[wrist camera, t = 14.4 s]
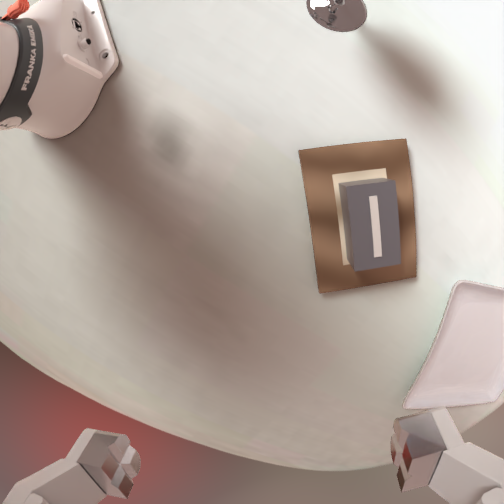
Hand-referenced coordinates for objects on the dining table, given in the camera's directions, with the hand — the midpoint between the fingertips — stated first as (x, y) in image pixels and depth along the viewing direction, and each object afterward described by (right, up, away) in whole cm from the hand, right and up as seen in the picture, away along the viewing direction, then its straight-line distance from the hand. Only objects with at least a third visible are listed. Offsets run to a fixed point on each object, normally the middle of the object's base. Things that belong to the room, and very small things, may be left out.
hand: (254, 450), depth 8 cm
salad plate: (+34, -8, +31) cm, 46 cm away
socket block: (+12, +9, +25) cm, 29 cm away
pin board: (+12, +10, +26) cm, 31 cm away
